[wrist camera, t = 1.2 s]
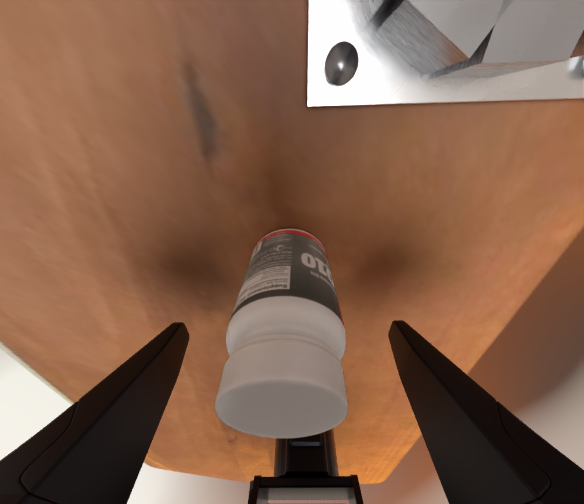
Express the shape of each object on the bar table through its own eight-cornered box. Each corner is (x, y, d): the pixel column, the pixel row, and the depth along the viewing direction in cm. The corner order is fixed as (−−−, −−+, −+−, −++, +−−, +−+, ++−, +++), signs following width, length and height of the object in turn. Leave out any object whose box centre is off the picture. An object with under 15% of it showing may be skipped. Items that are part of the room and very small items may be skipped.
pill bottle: (337, 272, 14) (382, 431, 7) (275, 296, 15) (258, 451, 8) (307, 212, 12) (328, 353, 5) (237, 245, 13) (167, 398, 6)
